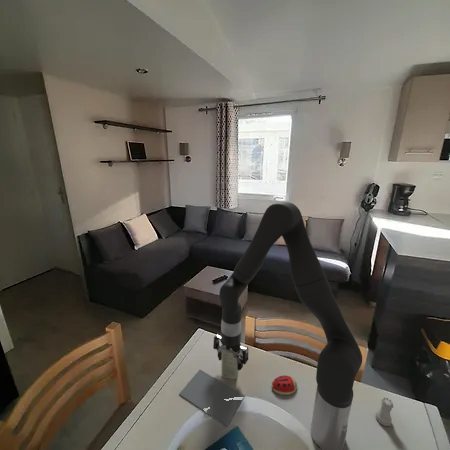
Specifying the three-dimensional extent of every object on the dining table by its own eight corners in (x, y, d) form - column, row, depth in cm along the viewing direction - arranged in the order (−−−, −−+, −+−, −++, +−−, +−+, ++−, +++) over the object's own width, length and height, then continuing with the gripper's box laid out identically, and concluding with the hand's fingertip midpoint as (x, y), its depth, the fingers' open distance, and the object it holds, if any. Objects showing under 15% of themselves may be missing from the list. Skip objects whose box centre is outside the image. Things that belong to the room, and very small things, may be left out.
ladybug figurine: (300, 393, 85) (301, 385, 84) (275, 399, 83) (276, 391, 82) (291, 377, 91) (292, 369, 90) (268, 382, 89) (268, 374, 88)
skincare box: (238, 370, 94) (239, 345, 90) (236, 380, 89) (237, 354, 86) (223, 367, 95) (223, 342, 92) (220, 377, 91) (221, 351, 87)
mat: (244, 395, 83) (244, 395, 83) (227, 427, 74) (227, 426, 73) (199, 370, 93) (199, 369, 93) (179, 394, 84) (179, 393, 83)
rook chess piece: (375, 409, 79) (380, 391, 77) (391, 418, 77) (396, 400, 75) (373, 420, 76) (378, 401, 74) (390, 430, 73) (395, 411, 71)
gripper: (253, 330, 86) (250, 365, 91) (220, 316, 93) (219, 349, 98) (243, 342, 80) (241, 380, 84) (209, 327, 87) (209, 362, 92)
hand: (229, 363), depth 91 cm, fingers open, 8 cm apart
